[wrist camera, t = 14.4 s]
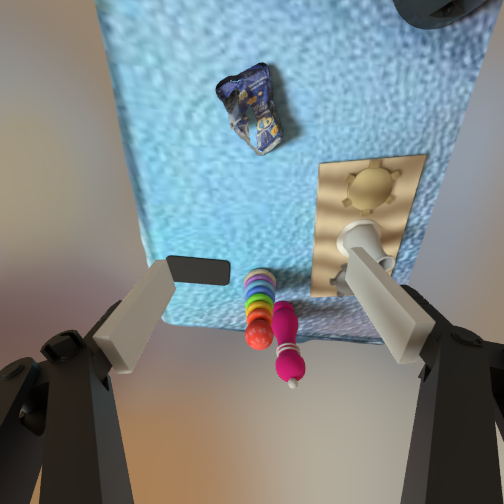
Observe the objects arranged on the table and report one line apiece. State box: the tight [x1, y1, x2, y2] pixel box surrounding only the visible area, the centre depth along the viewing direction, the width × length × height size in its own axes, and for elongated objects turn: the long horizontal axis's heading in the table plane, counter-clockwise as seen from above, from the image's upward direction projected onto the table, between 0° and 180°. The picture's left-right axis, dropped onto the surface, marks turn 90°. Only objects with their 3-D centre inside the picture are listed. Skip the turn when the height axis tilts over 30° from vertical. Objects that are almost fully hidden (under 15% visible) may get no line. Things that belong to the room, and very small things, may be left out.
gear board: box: [310, 154, 426, 298], centre depth 44 cm, size 31×18×3 cm, turn 5°
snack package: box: [216, 62, 283, 156], centre depth 32 cm, size 12×6×12 cm
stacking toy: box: [244, 269, 276, 350], centre depth 43 cm, size 8×8×19 cm
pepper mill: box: [271, 301, 305, 389], centre depth 47 cm, size 7×7×20 cm
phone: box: [166, 255, 230, 286], centre depth 50 cm, size 7×1×15 cm
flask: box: [343, 224, 396, 272], centre depth 39 cm, size 7×7×10 cm
